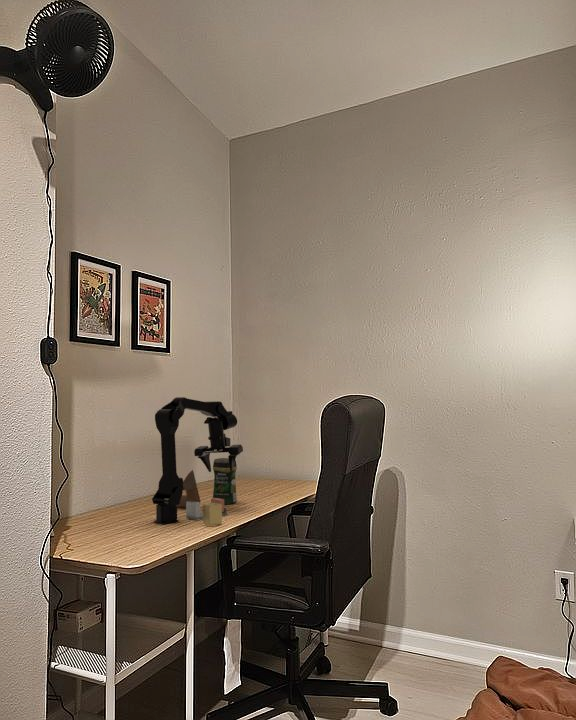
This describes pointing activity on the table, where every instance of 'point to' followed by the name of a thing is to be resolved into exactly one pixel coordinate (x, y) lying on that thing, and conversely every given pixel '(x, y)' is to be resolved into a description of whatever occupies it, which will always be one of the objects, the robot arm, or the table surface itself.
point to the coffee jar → (224, 481)
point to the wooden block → (189, 490)
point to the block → (212, 514)
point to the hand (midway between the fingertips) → (220, 471)
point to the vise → (196, 510)
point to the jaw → (220, 501)
